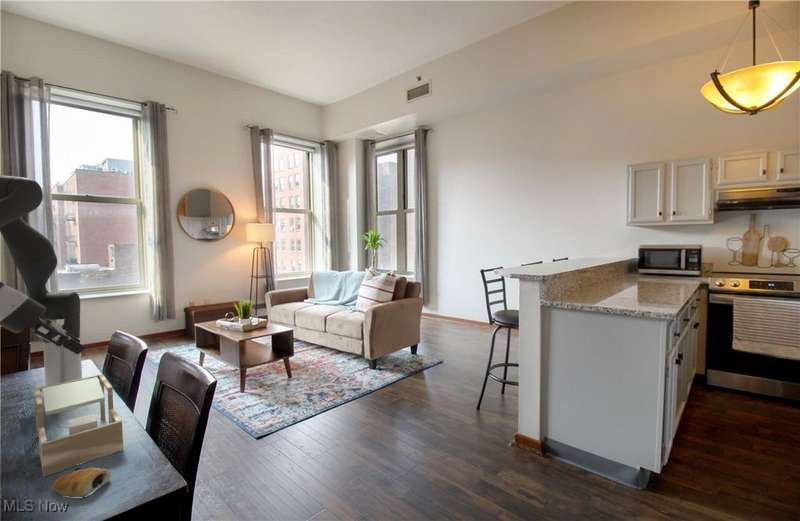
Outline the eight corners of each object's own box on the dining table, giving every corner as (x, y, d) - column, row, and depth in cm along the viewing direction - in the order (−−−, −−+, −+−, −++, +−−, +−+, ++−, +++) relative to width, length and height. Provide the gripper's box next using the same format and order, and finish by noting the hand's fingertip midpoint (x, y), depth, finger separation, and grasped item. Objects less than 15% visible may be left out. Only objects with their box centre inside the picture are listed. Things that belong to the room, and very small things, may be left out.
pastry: (40, 499, 72) (40, 480, 72) (73, 477, 78) (73, 460, 78) (86, 501, 71) (85, 481, 71) (115, 479, 78) (114, 461, 78)
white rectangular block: (68, 427, 83) (70, 462, 83) (97, 420, 86) (99, 453, 87) (69, 419, 87) (70, 452, 87) (96, 413, 90) (98, 445, 91)
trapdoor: (42, 392, 94) (42, 388, 94) (97, 380, 102) (97, 376, 102) (45, 415, 87) (45, 411, 87) (104, 400, 95) (104, 397, 95)
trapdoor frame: (36, 436, 95) (34, 388, 94) (104, 417, 105) (102, 374, 104) (43, 476, 78) (40, 419, 78) (123, 449, 88) (121, 398, 88)
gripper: (28, 298, 81) (97, 340, 90) (25, 293, 91) (88, 330, 100) (-7, 326, 78) (69, 366, 87) (-5, 317, 87) (63, 354, 96)
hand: (79, 347), depth 93 cm, fingers open, 8 cm apart
